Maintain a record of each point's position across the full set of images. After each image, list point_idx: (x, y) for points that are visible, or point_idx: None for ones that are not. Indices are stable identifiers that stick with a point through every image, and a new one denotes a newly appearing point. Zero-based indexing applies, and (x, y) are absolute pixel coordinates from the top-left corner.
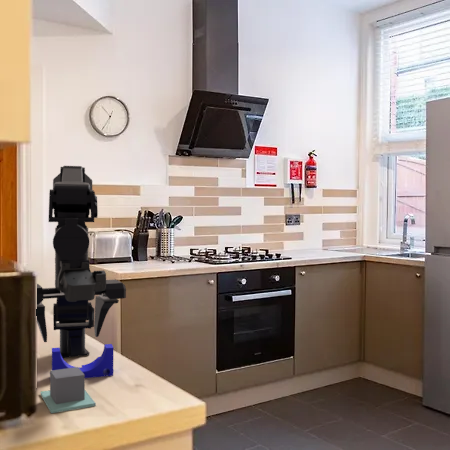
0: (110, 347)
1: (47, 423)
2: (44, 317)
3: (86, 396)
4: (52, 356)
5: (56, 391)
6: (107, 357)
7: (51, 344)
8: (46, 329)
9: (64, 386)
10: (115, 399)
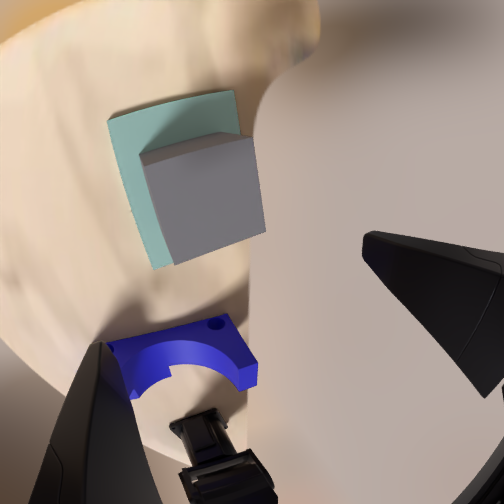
0: None
1: (240, 34)
2: (492, 269)
3: (133, 180)
4: (251, 354)
5: (232, 134)
6: None
7: (233, 439)
8: (422, 250)
9: (211, 140)
10: (52, 172)
